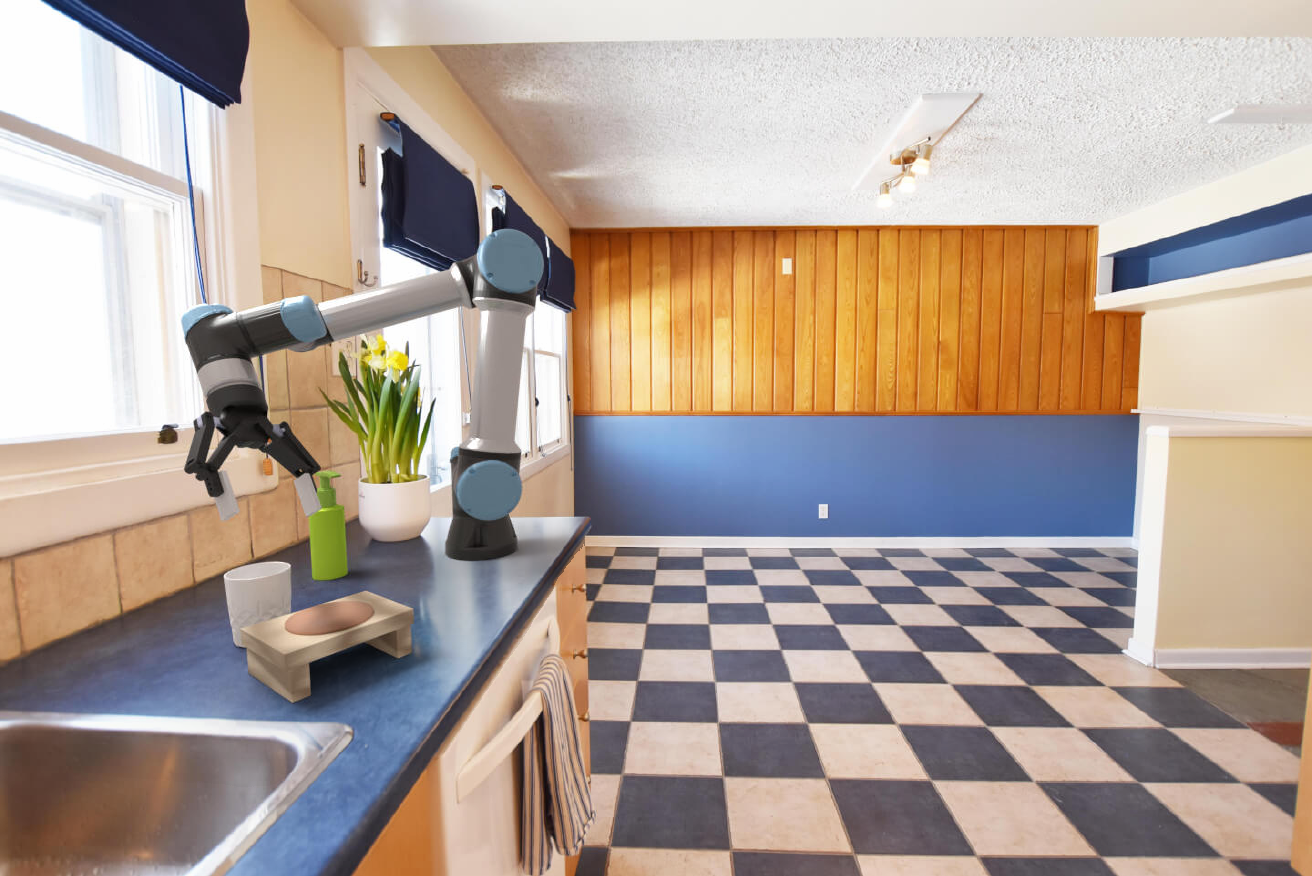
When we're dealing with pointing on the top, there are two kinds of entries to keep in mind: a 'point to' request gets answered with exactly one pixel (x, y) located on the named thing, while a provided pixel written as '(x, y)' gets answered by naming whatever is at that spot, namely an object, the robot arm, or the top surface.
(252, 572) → the white cup
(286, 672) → the birch shelf
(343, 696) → the top surface
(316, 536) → the soap dispenser
